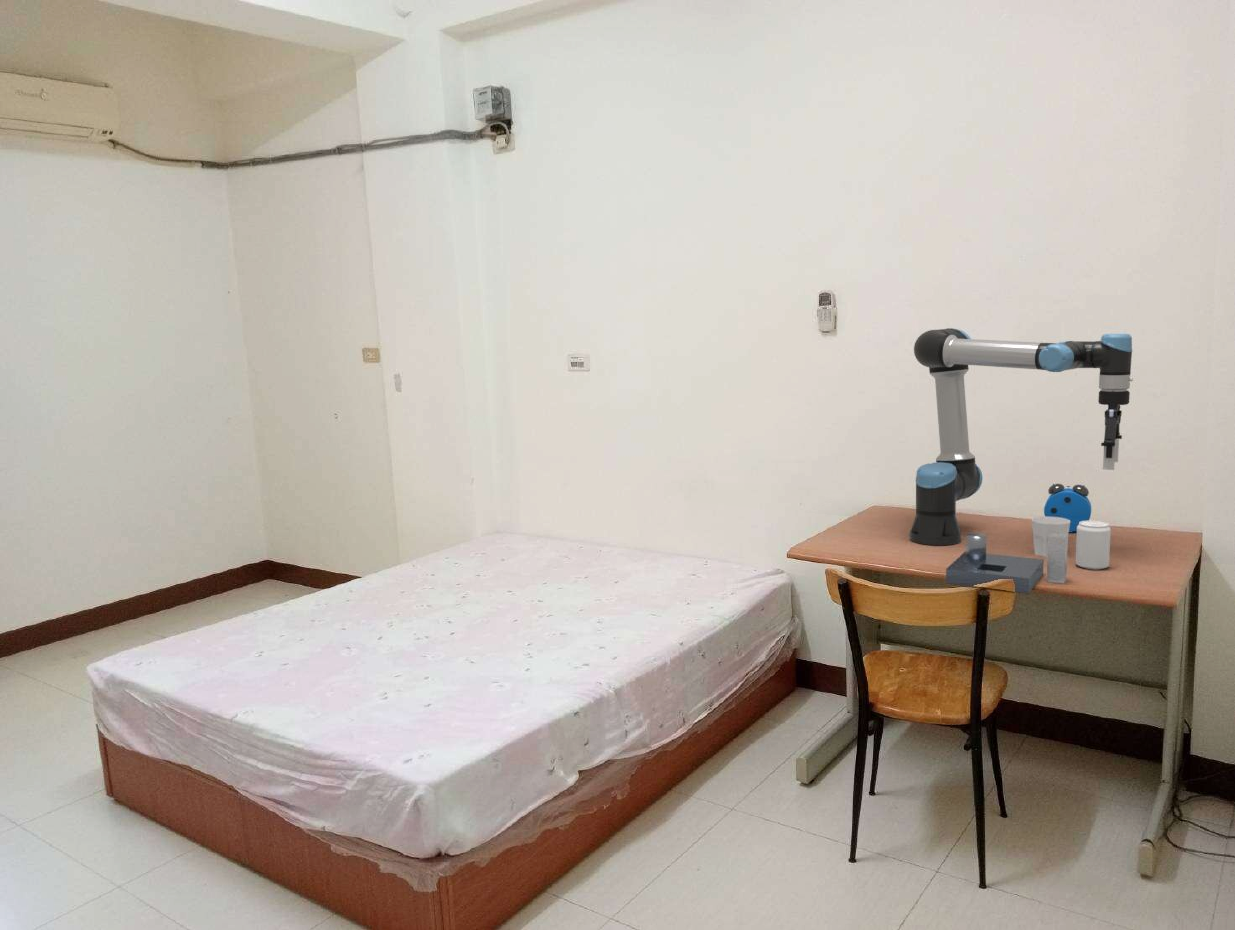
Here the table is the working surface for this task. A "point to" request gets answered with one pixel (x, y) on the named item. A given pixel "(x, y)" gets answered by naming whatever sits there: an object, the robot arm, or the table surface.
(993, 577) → the slotted metal base
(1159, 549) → the table surface
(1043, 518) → the cup
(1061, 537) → the grey square peg
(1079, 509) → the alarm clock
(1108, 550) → the beverage can
